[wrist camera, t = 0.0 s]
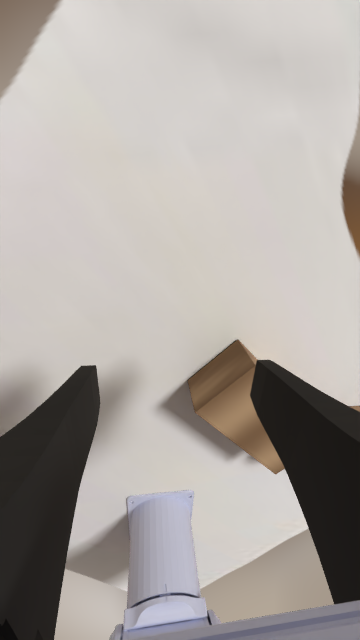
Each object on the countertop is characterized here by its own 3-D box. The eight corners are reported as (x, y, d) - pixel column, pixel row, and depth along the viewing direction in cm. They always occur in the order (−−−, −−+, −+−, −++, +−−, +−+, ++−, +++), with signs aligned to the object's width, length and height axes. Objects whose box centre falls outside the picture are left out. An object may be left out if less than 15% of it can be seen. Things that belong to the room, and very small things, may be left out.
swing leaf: (316, 421, 28) (344, 457, 24) (272, 450, 29) (292, 490, 25) (237, 339, 22) (257, 368, 18) (187, 380, 23) (195, 416, 19)
